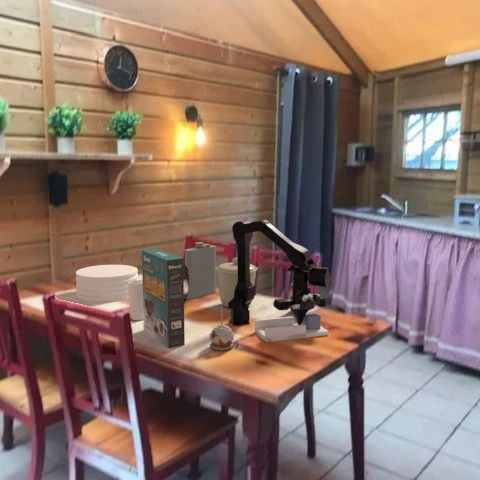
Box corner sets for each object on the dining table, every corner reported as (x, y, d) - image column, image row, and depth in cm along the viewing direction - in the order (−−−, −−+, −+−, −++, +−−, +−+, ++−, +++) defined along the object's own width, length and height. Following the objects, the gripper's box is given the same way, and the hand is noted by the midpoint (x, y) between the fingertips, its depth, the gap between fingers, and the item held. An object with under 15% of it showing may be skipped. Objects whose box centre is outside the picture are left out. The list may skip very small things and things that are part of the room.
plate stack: (150, 292, 245) (150, 268, 244) (106, 306, 222) (105, 280, 220) (109, 284, 260) (108, 262, 259) (63, 296, 237) (62, 272, 235)
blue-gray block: (307, 330, 186) (308, 316, 185) (302, 325, 191) (302, 312, 190) (320, 328, 188) (320, 315, 187) (314, 324, 192) (314, 311, 192)
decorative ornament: (210, 343, 176) (209, 301, 174) (232, 343, 177) (232, 300, 175) (210, 352, 169) (210, 307, 166) (234, 351, 169) (234, 307, 167)
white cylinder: (150, 317, 205) (149, 281, 203) (140, 322, 199) (139, 284, 197) (136, 315, 208) (135, 279, 205) (125, 320, 202) (124, 282, 199)
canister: (234, 314, 210) (234, 263, 207) (207, 304, 224) (206, 257, 221) (265, 306, 222) (266, 258, 219) (238, 297, 236) (238, 252, 232)
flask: (210, 291, 247) (210, 239, 243) (217, 292, 244) (216, 240, 240) (182, 298, 235) (181, 244, 231) (189, 299, 232) (188, 245, 228)
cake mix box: (184, 344, 175) (183, 258, 170) (168, 348, 172) (166, 260, 167) (158, 327, 193) (157, 248, 189) (143, 330, 190) (141, 250, 186)
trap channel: (266, 342, 178) (266, 329, 177) (254, 331, 189) (255, 319, 188) (328, 335, 185) (328, 323, 185) (314, 325, 196) (314, 314, 195)
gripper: (285, 291, 175) (284, 335, 177) (334, 287, 180) (333, 330, 183) (273, 283, 185) (272, 325, 187) (320, 280, 191) (318, 321, 193)
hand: (299, 325), depth 187 cm, fingers closed
